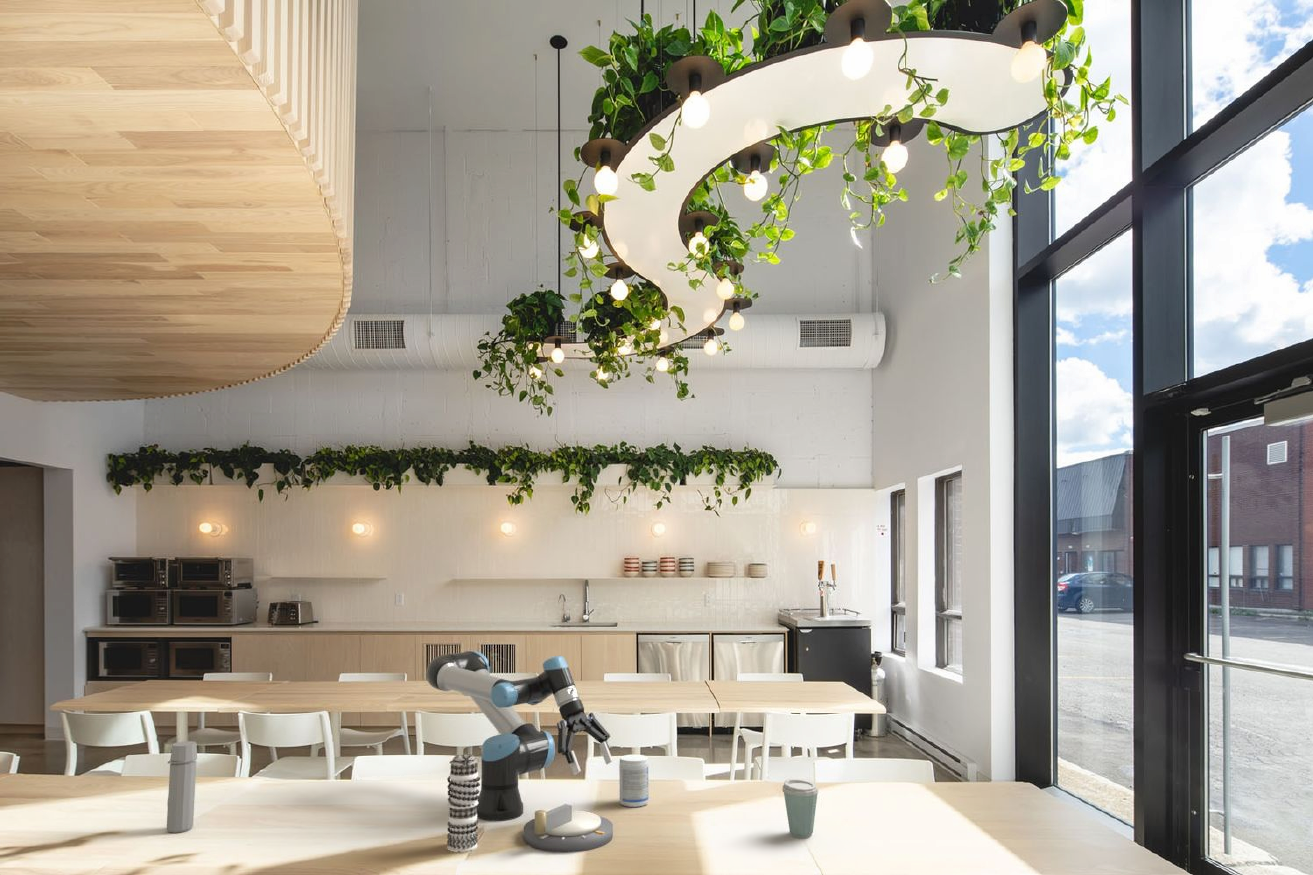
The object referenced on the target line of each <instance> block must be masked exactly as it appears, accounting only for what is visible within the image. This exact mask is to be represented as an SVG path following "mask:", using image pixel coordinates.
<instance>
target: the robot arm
mask: <svg viewBox="0 0 1313 875" xmlns="http://www.w3.org/2000/svg"><path fill="white" fill-rule="evenodd" d="M542 668H543V669H542V670H543V671H542V672H541V673H540V674H539V675H537V676H534V677H531V678H524V679H518V680H508V679H505V678H500V677H497V676H494V675H491V673H490V671H491V667H490V666H489V660H488V658H487V657H486V656H485V655H484V654H483V653H482V652H480V651H476V650H475V651H473V650H466V651H463V652H457V653H456V652H455V653H447V654H441V655H438V656H436V657H434V658H433V659H432V660H430V663H429V664H428V665H427V669H426V674H425V675H426V680H427V682H428V684H429V685H430V686H431V687H432V688H434V689H436V690H439V691H443V692H451V691H454V692H457V693H461V694H462V696H465V697H470V698H471V699H472V700H473V702H474V703H475V704H476V705H477V707H478V708H479V709H480V710H481V712H482V714H483V715H484V716H485V717H486V718H487V719H488V721H489V722H490V724H492V726H493V727H494V728H495V730H496V731H497V732H498V734H497V735H493V736H490V737H488V738H487V739H485V740H484V742H483V743H482V748H481V753H480V754H481V755H480V756H481V774H480V776H481V777H480V782H481V783H480V790H479V793H478V794H479V795H478V796H479V799H477V801H478V805H477V811H476V812H477V819H480V820H484V821H497V822H498V821H507V820H512V819H516V818H518V817H520V816H522V815H523V814H524V803H523V801H522V798H521V797H522V796H521V793H520V789H519V776H520V775H524V774H527V773H530V772H535V771H540V770H543V769H545V768H547V767H548V766H550V765H551V764H552V763H553V760H554V758H555V755H556V745H555V740H554V737H553V736H552V735H551V733H550V732H548V731H546V730H540V731H539V730H538V729H537V728H536V727H535V725H534V724H533V723H531V722H525V721H524V719H523V718H522V717H521V716H520V714H519V713H518V712H517V711H516V710H515V708H514V707H515V706H518V705H523V704H527V705H530V706H536V705H538V704H539V703H542V702H543V701H545V700H546V699H548V697H550V696H551V695H552V694H553V696H554V697H553V698H554V700H555V702H556V706H557V708H559V709H558V710H559V714H560V717H561V719H562V720H559V722H557V723H556V725H557V732H558V733H557V735H558V736H557V737H558V738H557V740H558V741H557V753H558V754H561V755H562V756H565V758H566V761H567V763H568V765H570V767H571V771H572V772H573V775H574V776H575V775H577V774H578V773H580V772H581V766H580V764H579V763H578V760H577V756H576V753H575V751H574V750H571V749H572V746H573V741H574V737H575V734H577V733H581V732H584V733H587V734H588V735H590V736H591V737H592V738H593V739H595V741H597V742H598V743H599V744H598V746H599V749H600V752H601V754H602V756H603V760H604V762H605V764H606V765H609V764H611V763H612V762H613V761H614V760H613V758H612V754H611V752H610V751H611V748H610V746H609V744H608V741H609V739H610V738H611V734H610V733H609V732H608V731H607V730H606V729H605V727H604V726H603V725H602V724H601V723H600V722H599V721H598V719H597V718H596V715H595V714H594V713H593V712H590V713H588V714H585V707H584V704H583V701H582V700H581V698H580V695H579V692H578V690H577V686H576V684H575V681H574V679H573V676H572V674H571V671H570V668H569V665H568V663H567V661H566V659H565V657H564V656H563V655H555V656H552V657H550V658H548V659H546V660H544V662H543V663H542Z"/></svg>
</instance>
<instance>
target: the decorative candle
mask: <svg viewBox="0 0 1313 875" xmlns="http://www.w3.org/2000/svg"><path fill="white" fill-rule="evenodd" d="M478 763H479V759H476V757H475V755H473V754H470V753H469V754H468V753H465V754H464V753H463V754H457V755H455V756H454V757H453V759H452V760H450V761H449V764H450V773H449V775H448V777H447V780H446V781H447V782H448V784H447V789H448V790H447V795H448V796H449V797H448V798H447V801H448V804H447V806H448V807H449V814H448V822H447V832H448V834H446V837H447V841H446V843H447V846H446V849H447V850H448V851H449V850H451V851H460V852H459V853H464V852H463V851H468V852H470V851H469V850H472V851H475V850H476V849H477V848H478V842H479V840H478V837H479V836H478V835H479V833H478V829H479V826H478V823H479V820H478V817H477V812H476V811H477V805H478V799H479V795H478V794H480V790H479V789H478V787H481V783H480V782H479V781H481V777H479V771H478V770H479V769H478ZM451 851H450V852H451Z"/></svg>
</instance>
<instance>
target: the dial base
mask: <svg viewBox="0 0 1313 875" xmlns="http://www.w3.org/2000/svg"><path fill="white" fill-rule="evenodd" d="M598 816H599V817H600V818H601V826H600V828H599V829H598V830H596V831H594V832H592V833H588V834H584V835H578V836H553V835H548V834H535V818H533V819H531V820H529V821H527V822H526V823H525V824H524V826H523V837H522V838H524V839H523V842H524V843H525V844H526V845H527V846H528V845H529V846H528V847H531V848H533V849H535V850H539V851H543V852H551V853H577V852H579V853H580V852H585V851H590V850H595V849H599V848H601V847H604V846H605V845H607V844H609V843H610V842H611V841H613V838H614V836H613V834H614V833H613V830H614V824H613V823H612V821H611V820H609V819H608V818H606V817H603V816H601V815H598ZM612 837H613V838H612Z"/></svg>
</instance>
